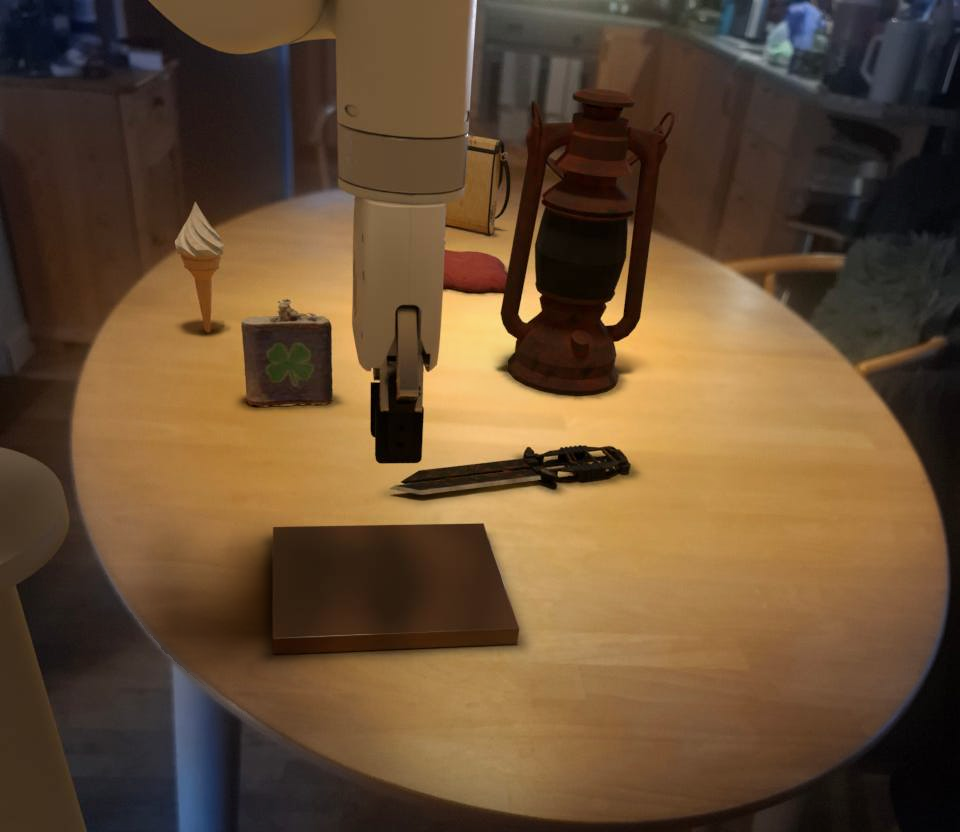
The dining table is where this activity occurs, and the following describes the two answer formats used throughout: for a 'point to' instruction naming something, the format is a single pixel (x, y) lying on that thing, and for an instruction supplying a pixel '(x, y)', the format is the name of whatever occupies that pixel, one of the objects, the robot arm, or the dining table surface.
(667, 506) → the dining table surface
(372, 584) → the serving board
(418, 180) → the robot arm
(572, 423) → the dining table surface
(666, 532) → the dining table surface
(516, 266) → the lantern
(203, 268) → the ice cream cone
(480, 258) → the patty
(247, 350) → the flask
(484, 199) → the clutch purse
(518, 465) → the knife
